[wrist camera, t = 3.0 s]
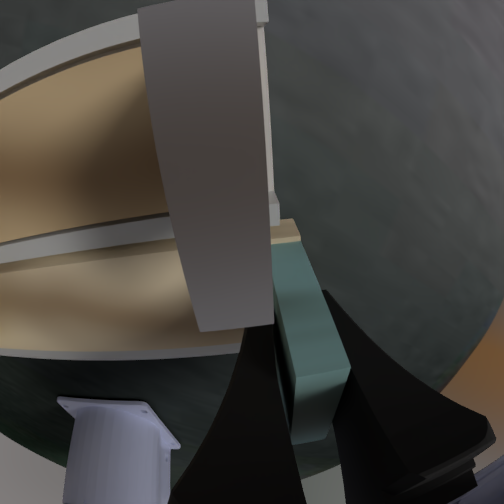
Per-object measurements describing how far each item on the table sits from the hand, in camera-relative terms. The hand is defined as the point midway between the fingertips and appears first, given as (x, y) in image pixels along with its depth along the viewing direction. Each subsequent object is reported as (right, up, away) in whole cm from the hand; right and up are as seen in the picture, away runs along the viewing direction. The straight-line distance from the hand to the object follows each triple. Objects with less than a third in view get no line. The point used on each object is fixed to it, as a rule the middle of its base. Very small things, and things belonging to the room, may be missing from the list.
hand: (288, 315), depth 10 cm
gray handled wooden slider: (-13, +5, -2) cm, 14 cm away
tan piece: (-11, 0, +1) cm, 11 cm away
